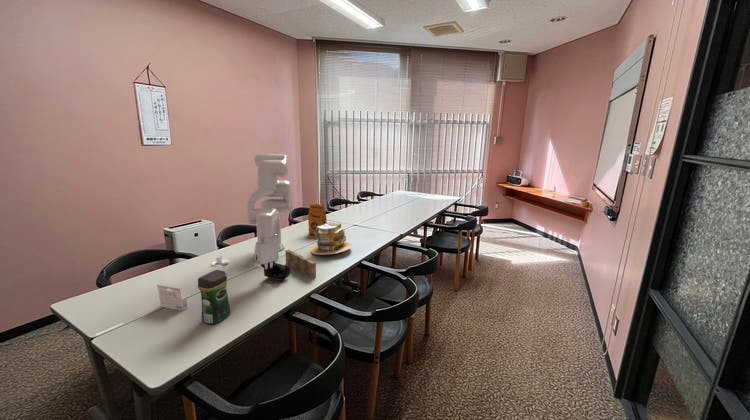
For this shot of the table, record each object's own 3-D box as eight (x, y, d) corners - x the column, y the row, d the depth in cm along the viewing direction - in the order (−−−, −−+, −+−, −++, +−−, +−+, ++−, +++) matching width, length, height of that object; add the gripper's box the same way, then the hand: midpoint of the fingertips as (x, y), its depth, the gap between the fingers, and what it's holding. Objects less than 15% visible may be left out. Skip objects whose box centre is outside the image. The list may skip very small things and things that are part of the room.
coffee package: (321, 237, 212) (321, 206, 207) (306, 234, 217) (305, 204, 212) (329, 233, 221) (329, 203, 215) (314, 231, 226) (314, 201, 220)
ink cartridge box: (165, 303, 127) (162, 282, 125) (188, 308, 125) (185, 285, 122) (159, 306, 125) (156, 284, 122) (183, 311, 122) (180, 288, 120)
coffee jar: (218, 308, 125) (214, 266, 120) (234, 313, 122) (230, 270, 117) (197, 322, 116) (192, 276, 111) (213, 327, 113) (209, 280, 109)
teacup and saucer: (231, 264, 167) (230, 257, 166) (215, 268, 161) (215, 261, 160) (224, 259, 172) (223, 252, 171) (209, 263, 167) (208, 256, 166)
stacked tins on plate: (302, 252, 186) (301, 225, 182) (328, 241, 206) (328, 216, 202) (334, 262, 173) (334, 233, 169) (359, 249, 194) (360, 223, 190)
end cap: (288, 280, 152) (291, 266, 153) (278, 280, 145) (282, 266, 146) (272, 275, 156) (275, 262, 157) (262, 275, 149) (266, 261, 150)
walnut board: (285, 264, 168) (285, 250, 166) (289, 263, 170) (288, 249, 168) (312, 278, 153) (312, 263, 151) (316, 277, 154) (315, 262, 152)
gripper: (276, 233, 150) (278, 268, 155) (246, 240, 140) (248, 277, 144) (284, 237, 146) (286, 273, 150) (254, 244, 135) (256, 283, 139)
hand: (267, 275), depth 147 cm, fingers closed
